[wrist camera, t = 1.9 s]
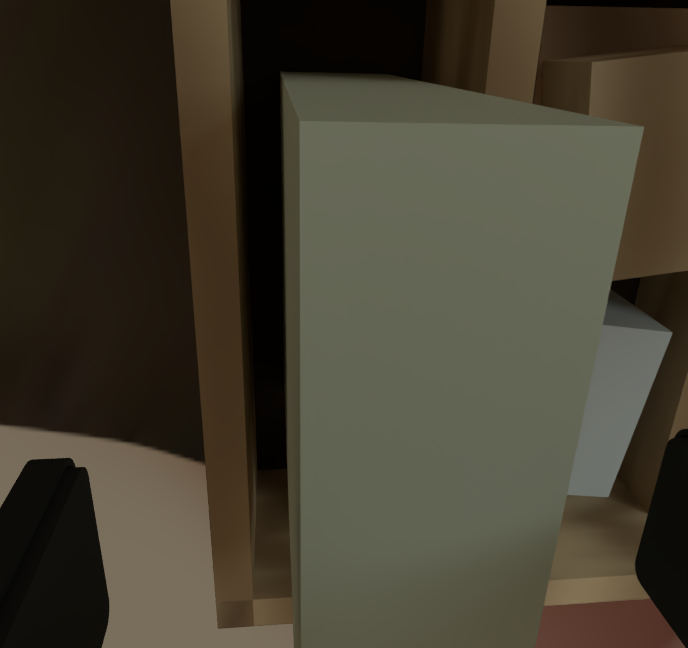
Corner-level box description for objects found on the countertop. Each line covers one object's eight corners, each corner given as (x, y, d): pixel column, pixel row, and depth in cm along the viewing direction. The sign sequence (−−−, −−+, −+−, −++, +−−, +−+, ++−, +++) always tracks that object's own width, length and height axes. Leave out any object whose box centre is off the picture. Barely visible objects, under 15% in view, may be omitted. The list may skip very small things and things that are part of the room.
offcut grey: (608, 287, 25) (672, 332, 21) (559, 432, 28) (608, 497, 24) (487, 272, 25) (530, 317, 20) (449, 423, 27) (480, 489, 23)
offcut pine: (686, 44, 19) (758, 43, 16) (663, 237, 21) (723, 265, 18) (543, 60, 18) (592, 62, 16) (537, 254, 21) (578, 285, 18)
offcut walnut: (650, 15, 21) (716, 9, 18) (607, 240, 25) (657, 268, 22) (503, 12, 21) (545, 5, 18) (480, 242, 24) (512, 272, 21)
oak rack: (759, -90, 20) (983, -153, 14) (619, 475, 29) (716, 594, 23) (194, -122, 18) (153, -213, 12) (230, 493, 27) (217, 628, 21)
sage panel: (386, 74, 21) (645, 126, 7) (370, 384, 26) (499, 815, 11) (279, 71, 21) (300, 120, 6) (284, 387, 25) (301, 837, 11)
